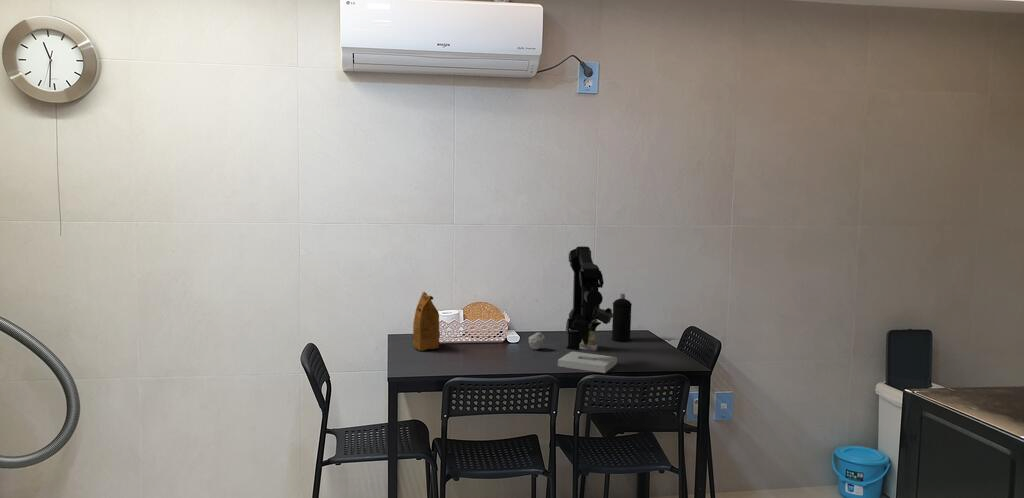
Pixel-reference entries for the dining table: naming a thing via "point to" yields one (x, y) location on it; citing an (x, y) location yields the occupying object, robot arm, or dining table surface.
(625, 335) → the aerosol can
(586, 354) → the hub plate
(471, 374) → the dining table surface
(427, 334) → the coffee package
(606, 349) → the dining table surface
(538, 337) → the grey rock
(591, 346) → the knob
